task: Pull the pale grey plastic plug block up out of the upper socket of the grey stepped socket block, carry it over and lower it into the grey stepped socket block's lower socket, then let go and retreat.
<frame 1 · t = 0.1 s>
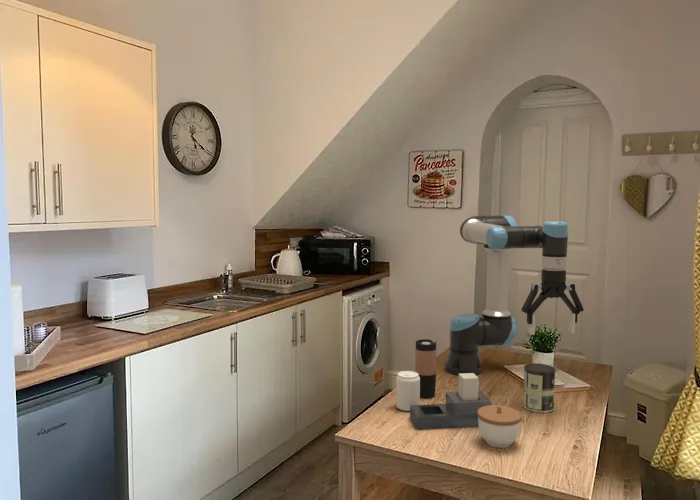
hand: (551, 333, 182), 28 cm above the table, fingers open, 13 cm apart
beverage can: (407, 408, 191), on the table
travel mug: (425, 395, 203), on the table
grey stepped socket block: (449, 421, 180), on the table
lidded bowl: (498, 443, 165), on the table
plug: (467, 408, 180), point 4 cm above the table, touching grey stepped socket block
coffee can: (538, 407, 192), on the table
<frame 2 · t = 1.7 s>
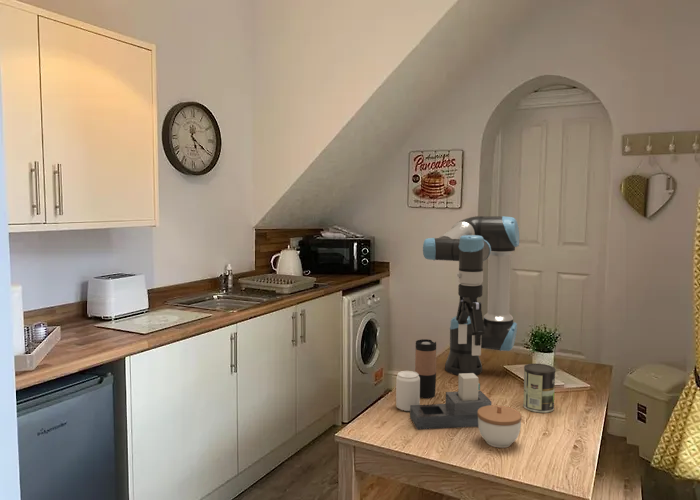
hand: (469, 349, 178), 24 cm above the table, fingers open, 13 cm apart
nothing on the table moved.
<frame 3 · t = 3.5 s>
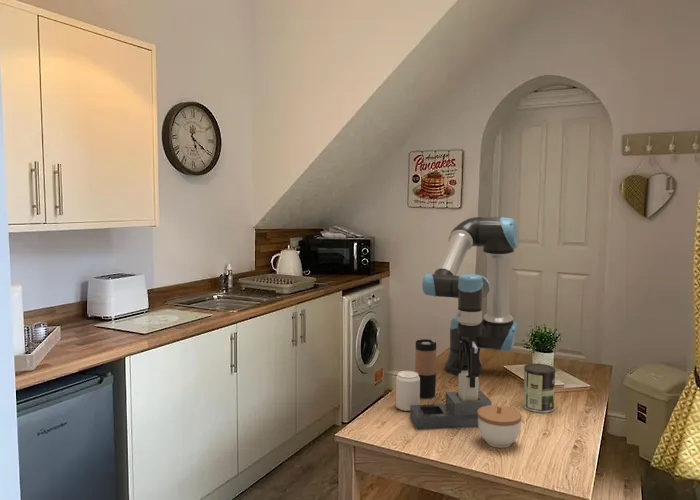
hand: (468, 392, 180), 9 cm above the table, fingers closed on plug, 5 cm apart
plug: (467, 408, 180), point 4 cm above the table, touching gripper, grey stepped socket block
everything else where it was.
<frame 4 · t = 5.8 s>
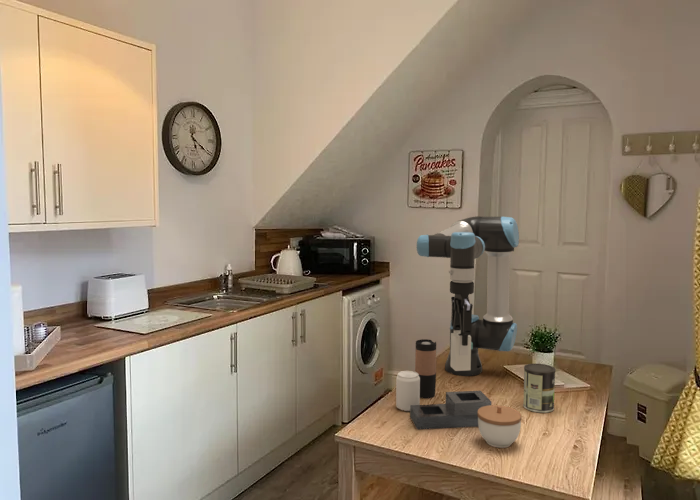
hand: (460, 352, 178), 23 cm above the table, fingers closed on plug, 5 cm apart
plug: (460, 368, 178), point 18 cm above the table, touching gripper
everything else where it was.
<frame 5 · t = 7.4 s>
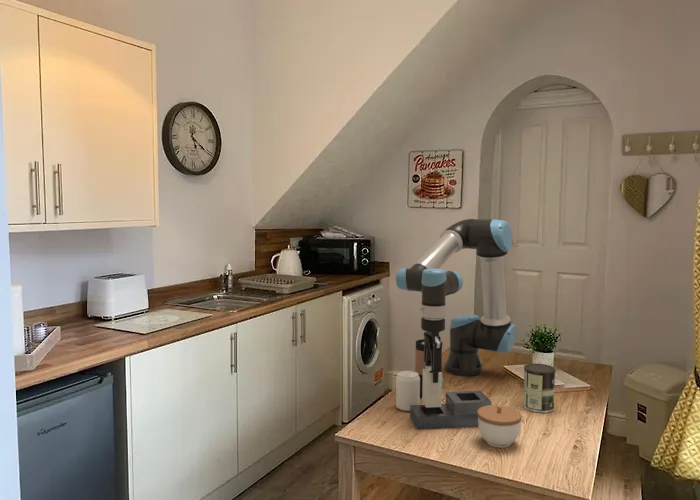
hand: (432, 388, 178), 11 cm above the table, fingers closed on plug, 5 cm apart
plug: (431, 404, 178), point 6 cm above the table, touching gripper
everything else where it was.
when the fingers open (8 cm above the table, at t = 8.4 s): plug stays where it is, resting on grey stepped socket block.
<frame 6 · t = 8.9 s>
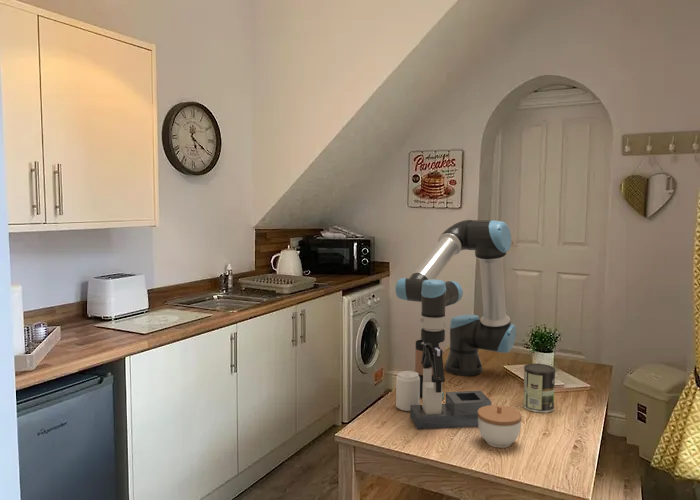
hand: (432, 394, 178), 9 cm above the table, fingers open, 12 cm apart
plug: (431, 417, 179), point 1 cm above the table, touching grey stepped socket block
everything else where it was.
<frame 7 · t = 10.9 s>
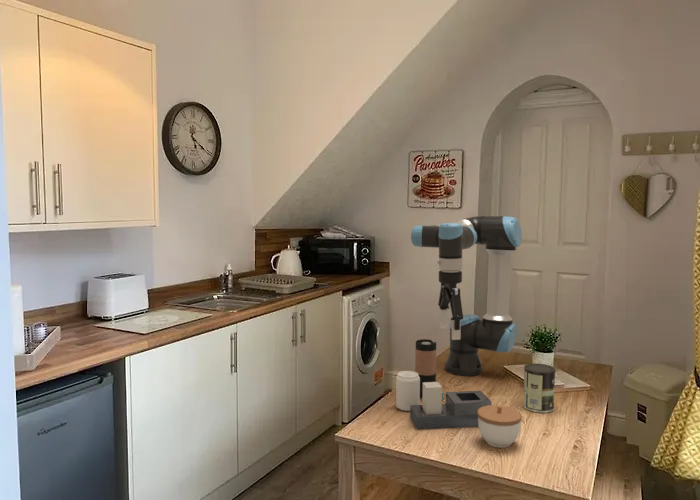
hand: (449, 333, 183), 27 cm above the table, fingers open, 13 cm apart
nothing on the table moved.
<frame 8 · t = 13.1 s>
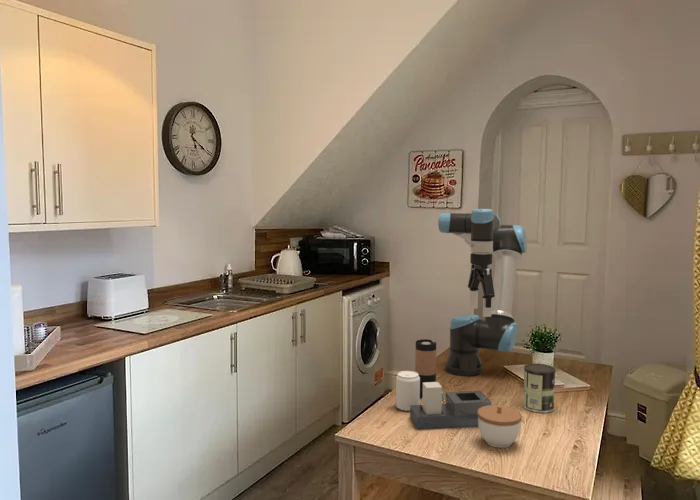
hand: (480, 312, 196), 32 cm above the table, fingers open, 13 cm apart
nothing on the table moved.
at the end: plug 0.0 cm from the target spot on the grey stepped socket block, point 1.5 cm above the grey stepped socket block's base; plug tilted 0°; the gripper is holding nothing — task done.
